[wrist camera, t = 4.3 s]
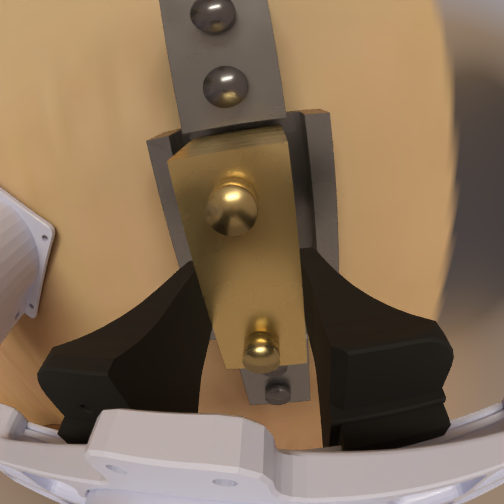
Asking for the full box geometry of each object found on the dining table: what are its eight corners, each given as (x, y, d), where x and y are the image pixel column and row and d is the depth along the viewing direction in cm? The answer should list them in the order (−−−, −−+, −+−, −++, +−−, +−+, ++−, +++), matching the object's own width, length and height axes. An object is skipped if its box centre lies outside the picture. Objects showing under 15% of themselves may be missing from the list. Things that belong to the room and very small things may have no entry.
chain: (330, 364, 22) (337, 404, 18) (228, 373, 22) (223, 412, 19) (300, -8, 11) (310, -33, 8) (143, 21, 12) (111, 7, 8)
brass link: (300, 304, 16) (309, 381, 12) (233, 310, 17) (223, 387, 12) (280, 124, 12) (290, 149, 8) (195, 137, 12) (156, 170, 8)
